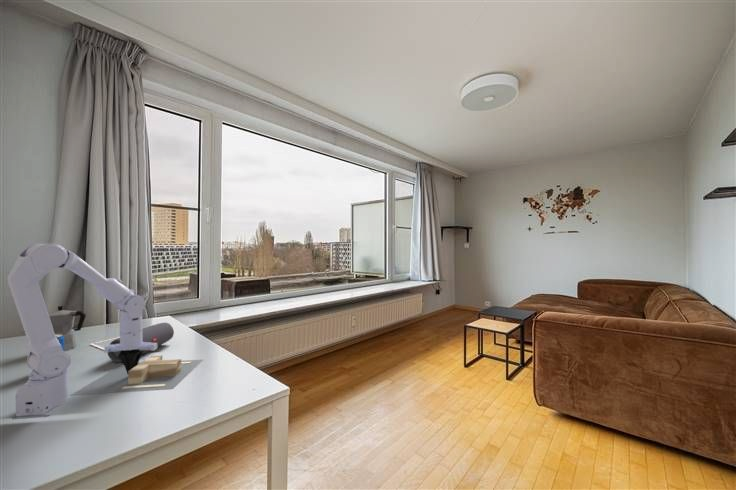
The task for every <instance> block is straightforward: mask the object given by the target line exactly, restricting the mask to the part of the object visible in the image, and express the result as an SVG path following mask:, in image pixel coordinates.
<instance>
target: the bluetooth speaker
mask: <svg viewBox="0 0 736 490" xmlns="http://www.w3.org/2000/svg"><path fill="white" fill-rule="evenodd" d="M174 334H175V333H174V327H173V326H172V324H170V323H168V322H161V323H156V324H152V325H150V326H147V327H142V342H150V343H157V348H159V347H160V346H162V345H163V344H165V343H167V342H169V341H170V340H172V338H173V337H174ZM112 344H120V338H118V339H115V340H111V341H110V343H109V344H108V345H112ZM152 352H154V351H151V350H144V352H143V354H142V355H144V354H150V353H152ZM120 353H121V351H115V352H108V353H107V356H108V358H109V359H110V360H111V361H113V362H115V363H123V362H122V361H121V360H120V358H118V355H119V354H120Z"/></svg>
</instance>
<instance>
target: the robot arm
mask: <svg viewBox="0 0 736 490" xmlns="http://www.w3.org/2000/svg"><path fill="white" fill-rule="evenodd" d="M57 268H58V269H62V270H69V271H71V272H73V274H75V275H77V276H78V277H80V278H82V279H83V280H86V282H88V283H90V284H92V285H93V286H95V292H96V293H97V294H98V295H99V296H101V297H102V298H104V299H105V300H107V301H108V302H110V303H111V304H113V305H114V306H115V307H116V309H118V310H119V337H120V344H112V345H109V344H108V345H106V346H105V345H104V348H105V351H104V353H105V354H108V352H115V351H121V353H120V354H119V355H118V358H120V360H121V361H122V362H121V363H122V364H124V366H125V368H126V371H127V374H128V371H129V370H131V369H132V368H134V367H135V366H137V365H138V363H140V362H139V361H140V359H141V357H142V356H143V355H144V354H143V352H144V350H151V351H153V352H154V351H156V350H157V349H158V347H157V343H150V342H142V329H143V311H144V310H145V308H146V305H147V302H146V301H145V299H144V297H143V296H141V295H139V294H135V290H134V289H132V288H129V287H127V286H125V284H122V283H123V282H124V281H122V280H121V279H120V278H115V277H109V278H106V276H104V275H102V274H101V272H99V271H98V270H97V269H95V268H94V267H93V266H91V265H90V264H89V263H87V262H86V261H84V259H83V258H81V257H80V256H79V255H77V254H76V253H74V252H72V251H70V250H67V249H66V248H65V247H64V246H63V245H60V244H57V243H40V242H39V243H34V244H31V245H29V246H27V247H26V248H25V249H24V250H22V251H21V252H20V253H19V254H18V255H17V258H16V261H15V263H14V265H13V267H12V268H11V270H10V272H9V274H8V276H7V283H8V287H9V289H10V292H11V295H12V298H13V301H14V304H15V307H16V311H17V313H18V316H19V320H20V322H21V325H22V328H23V331H24V333H25V336H26V337H25V338H26V340H27V342H28V343H27V351H28V355H27V358H26V365H27V366H28V367H29V369H30V370H32V371H31V372H30V373H29V375H28V380H27V381H26V383H25V384H23V385H22V386H20V387H19V388H18V389H17V391H16V393H15V417H13V416H12V417H11V419H12V420H21V419H37V418H47V417H50V414H45V413H47V412H49V411H50V410H52V409H55V408H56V407H58V406H61V405H63V404H65V403H66V402H67V401H68V400H69V366H70V365H71V363H72V359H71V355H70V354H68V353H67V351H63V349H62V346H61V344H60V343H59V341H58V340H57V338H56V336H55V333H54V330H53V327H52V324H51V320H50V317H49V314H48V313H49V312H48V308H47V305H46V302H45V300H44V296H43V292H42V289H41V286H40V281H41V280H42V279H43V278H44V277H45V276H46V275H47V274H49V272H51V271H52V270H55V269H57ZM44 414H45V415H44Z"/></svg>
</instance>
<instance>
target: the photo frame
mask: <svg viewBox="0 0 736 490" xmlns="http://www.w3.org/2000/svg"><path fill="white" fill-rule="evenodd" d="M118 338H120V336H118V337H115V338H110V339H106V340H101V341H96V342H93V343H89V346H91V345H92V346H91V347H94V348H96V347H97V349H99V350H102V351H104V352H105V347H102V346H100V345H98V344H101V343H106V341H107V342H111V341H114V340H116V339H118ZM110 340H111V341H110ZM97 343H98V344H97Z"/></svg>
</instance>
